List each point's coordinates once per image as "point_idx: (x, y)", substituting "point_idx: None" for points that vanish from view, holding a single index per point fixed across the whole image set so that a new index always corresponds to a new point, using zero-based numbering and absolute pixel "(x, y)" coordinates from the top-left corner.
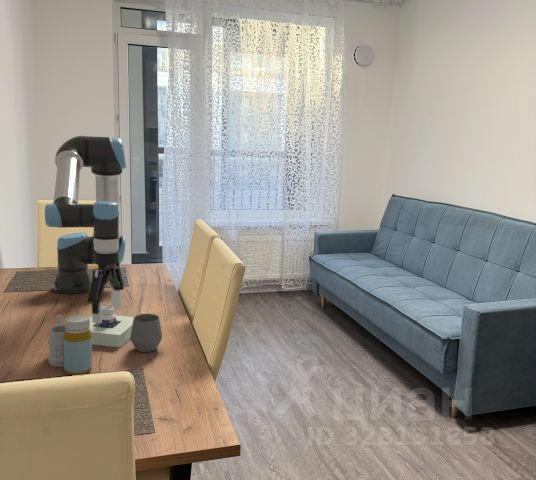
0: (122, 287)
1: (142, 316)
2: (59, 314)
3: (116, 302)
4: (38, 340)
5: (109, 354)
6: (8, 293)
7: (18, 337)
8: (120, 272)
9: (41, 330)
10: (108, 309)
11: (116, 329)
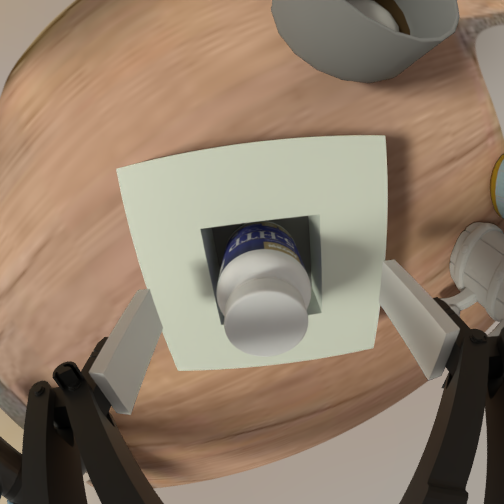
0: (62, 377)
1: (339, 8)
2: None
3: (142, 331)
4: (358, 385)
5: (421, 146)
6: (155, 485)
7: (346, 417)
8: (26, 494)
9: (293, 414)
10: (290, 307)
11: (326, 188)
